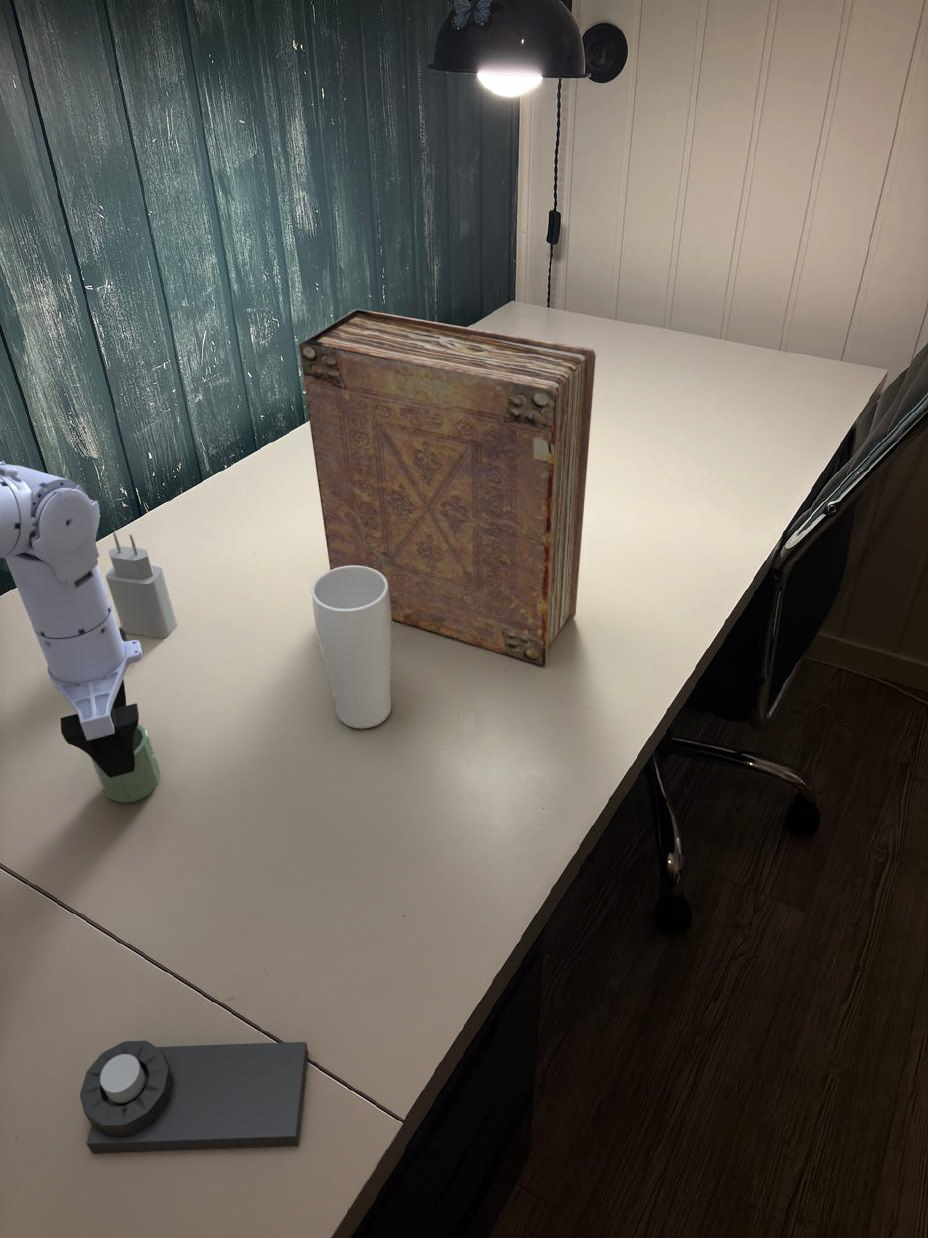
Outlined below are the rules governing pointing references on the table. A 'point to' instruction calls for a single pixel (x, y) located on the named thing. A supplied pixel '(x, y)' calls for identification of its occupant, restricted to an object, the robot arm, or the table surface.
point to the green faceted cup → (133, 773)
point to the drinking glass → (356, 641)
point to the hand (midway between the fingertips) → (117, 740)
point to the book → (454, 472)
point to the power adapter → (139, 593)
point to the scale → (200, 1098)
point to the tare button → (122, 1078)
